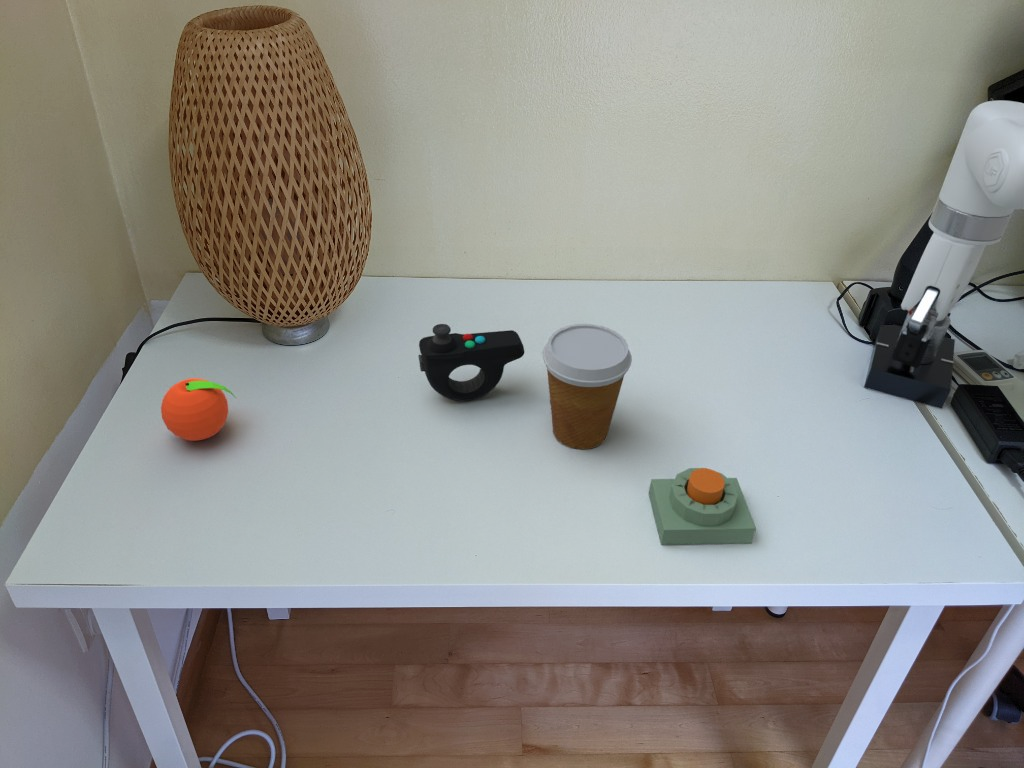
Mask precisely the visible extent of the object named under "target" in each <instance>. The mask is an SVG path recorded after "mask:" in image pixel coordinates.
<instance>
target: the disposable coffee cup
mask: <svg viewBox="0 0 1024 768" xmlns="http://www.w3.org/2000/svg"><path fill="white" fill-rule="evenodd" d="M541 355H542V359H543V363H544V365H545V368H546V371H547V381H548V383H547V384H548V393H549V402H550V403H549V404H550V411H551V412H550V415H551V423H552V433H553V436H554V438H555V439H556V441H558V442H559V443H560V444H562V445H563V446H566V447H568V448H570V449H575V450H590V449H595V448H596V447H597V448H598V447H599V446H601V445H602V444H603V443H605V441H606V439H607V437H608V435H609V434H608V433H609V430H610V426H611V423H612V419H613V416H614V413H615V409H616V406H617V403H618V399H619V396H620V392H621V389H622V385H623V381H624V378H625V375H626V374H627V372H628V371H629V369H630V368H631V366H632V361H633V359H632V353H631V351H630V348H629V344H628V342H627V340H626V339H625V338H624V337H623V336H622V335H621V334H620V333H618V332H617V331H616V330H613V329H611V328H609V327H607V326H606V327H605V326H604V325H599V324H592V323H575V324H570V325H565V326H562V327H560V328H558V329H556V330H555V331H554V332H552V334H551V335H550V336H549V338H548V341H547V342H546V344H545V345H544V347H543V348H542V354H541Z"/></svg>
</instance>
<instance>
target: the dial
mask: <svg viewBox="0 0 1024 768" xmlns="http://www.w3.org/2000/svg"><path fill="white" fill-rule="evenodd" d="M914 307H915V306H914ZM914 307H913V308H912V309H911V310H910V311H908V310H907V313H906V316H905V318H904V322H903V324H902V325H901V326H902V329H901V331H900V334H899V336H898V339H897V342H896V344H895V347H894V350H895V348H896V346H897V343H898V340H899V338H900V335H901V333H902V331H903V330H904V328H905V326H906V324H907V322H908V320H909V318H910V315H911V313H912V311H913V309H914ZM929 314H930V315H933V316H935V314H936V311H934V310H930V312H929ZM930 321H931V320H928V319H925V322H924V326H926V329H927V327H928V325H929V323H930ZM951 323H952V322H951V318H950V317H949V316H948V315H947V316H946V317H945V318H944V319H943V320H941V321H937V322H936V324H935V326H934V328H933V330H932V332H931V334H930V336H929V338H928V339H930V343H929V345H928V348H927V350H926V352H925V355H924V357H923V360H922V362H921V364H928V363H931V362H933V361H934V360H935V358H936V355H937V353H938V351H939V348H940V346H941V344H942V341H943V339H944V337H946V334H947V333H948V330H949V327H950V325H951Z"/></svg>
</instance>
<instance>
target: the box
mask: <svg viewBox="0 0 1024 768" xmlns="http://www.w3.org/2000/svg"><path fill="white" fill-rule="evenodd" d="M701 468H702V467H689V468H687V469H685V470H683V471H680V472H679V473H677V474H676V475H675V477H674V478H651V480H650V484H649V490H648V497H649V502H650V506H651V509H652V514H653V518H654V521H655V525H656V529H657V533H658V537H659V542H660V545H661V546H673V545H674V546H675V545H680V546H681V545H726V544H727V545H729V544H731V545H732V544H735V545H736V544H752V542H753V539H754V536H755V533H756V529H757V528H756V525H755V522H754V520H753V517H752V515H751V511H750V509H749V506H748V504H747V501H746V499H745V496H744V494H743V491H742V488H741V486H740V483H739V480H738V478H737V477H727V476H726V475H724V474H723V473H721V472H719V471H717V472H718V473H719V474H720V475H721V476H722V477H723V479H724V481H725V486H724V490H723V494H722V497H721V500H720V501H719V502H717V503H716V504H713V505H703V504H701V503H698V502H695V501H693V500H692V499H691V498H690V497H689V495H688V493H687V487H688V482H689V477H690V474H691V473H692V472H693V471H695V470H697V469H701ZM705 468H706V469H708V468H707V467H705Z"/></svg>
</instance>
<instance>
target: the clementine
mask: <svg viewBox="0 0 1024 768" xmlns="http://www.w3.org/2000/svg"><path fill="white" fill-rule="evenodd" d="M224 391H225V392H227V393H229V394H231V396H233V397H234V398H236V399H237V397H236V396H235V394H234V393H233V392H232V391H231V390H230V389H228V388H227V387H226V386H224V385H222V384H220V383H217V382H213V381H210V380H207V379H205V378H195V377H193V378H186V379H183V380H180V381H179V382H177V383H174V384H173V385H172V386H171V387H169V389H168V390H167V391H166V393H165V394H164V395H163V399H162V402H161V407H160V414H161V419H162V421H163V423H164V425H165V426H166V428H167V430H168V431H169V432H171V434H173V435H174V436H176V437H178V438H180V439H183V440H186V441H190V442H194V441H195V442H196V441H197V442H198V441H202V440H206V439H209V438H211V437H213V436H215V435H217V433H218V432H220V431H221V429H222V428H223V426H224V425H225V424H226V422H227V419H228V415H229V404H228V403H229V402H228V399H227V396H226V395H225V393H224Z"/></svg>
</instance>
